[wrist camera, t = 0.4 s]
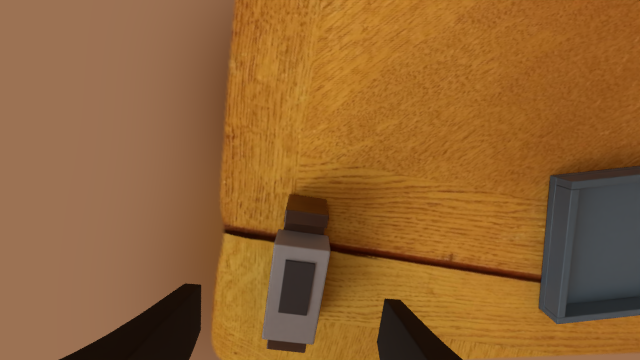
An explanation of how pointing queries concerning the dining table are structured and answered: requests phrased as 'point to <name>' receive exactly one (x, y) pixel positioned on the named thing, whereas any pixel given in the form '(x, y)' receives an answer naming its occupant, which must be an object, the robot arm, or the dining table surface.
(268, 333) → the grey block
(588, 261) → the tray
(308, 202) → the brown drawer handle
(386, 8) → the dining table surface
